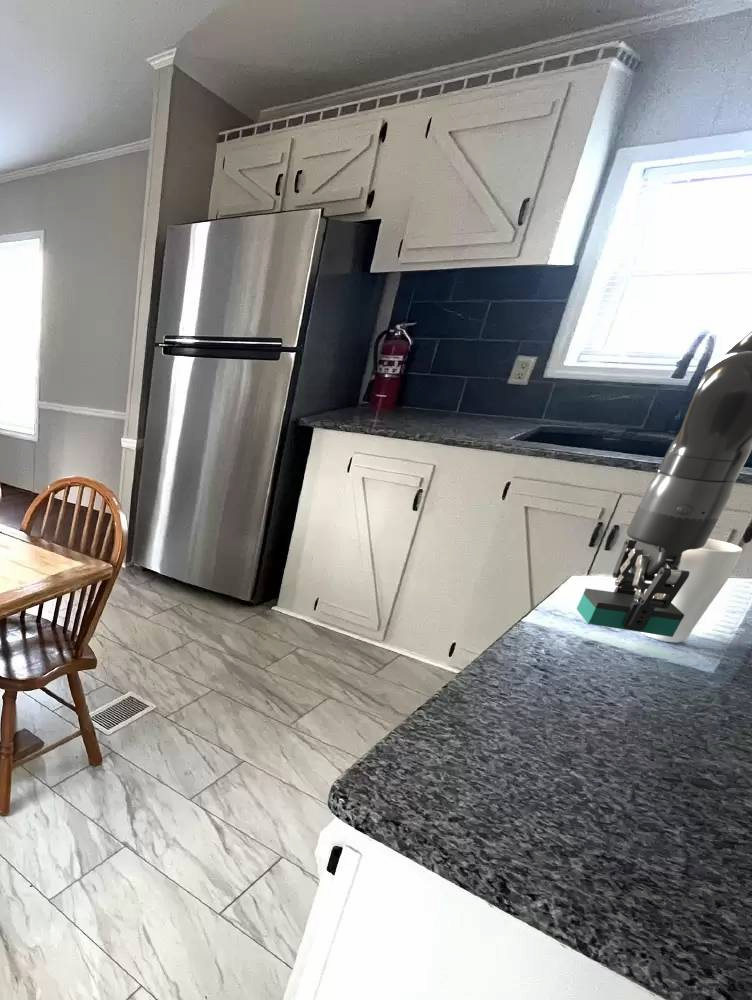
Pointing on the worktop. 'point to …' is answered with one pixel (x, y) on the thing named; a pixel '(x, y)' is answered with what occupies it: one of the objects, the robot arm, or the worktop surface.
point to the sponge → (625, 612)
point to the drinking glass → (701, 583)
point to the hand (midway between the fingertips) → (623, 619)
